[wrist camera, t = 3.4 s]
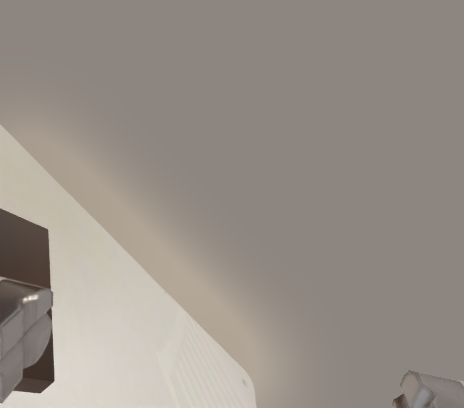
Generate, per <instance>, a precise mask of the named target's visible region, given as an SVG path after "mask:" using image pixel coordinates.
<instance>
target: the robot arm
mask: <svg viewBox="0 0 464 408" xmlns="http://www.w3.org/2000/svg"><path fill="white" fill-rule="evenodd" d="M52 306H53V292H52V291H51V290H50V289H49V288H45V287H41V286H37V285H33V284H29V283H25V282H21V281H17V280H13V279H7V278H4V277H0V403H3V402H4V400H5V399H6V398H7V397H8V396H9V394H10V393H11V392H12V391H13V390H14V388H15V387H16V386H17V385H18V384H19V383H20V381H21V380H22V379H23V369H24V368H27V367H29V366H31V365H33V364H35V363H36V362H37V361H38V359H39V358H40V357H41V356H42V354H43V353H44V351H45V349H46V347H47V345H48V342H49V339H50V335H51V331H52V321H51V319H50V318H49V316H48V314H47V313H46V312H47V311H48V310H49V309H50V308H51V307H52ZM400 385H401V388H402V390H403V393H404V394H402V395H401V396H399V397H398V398H396V399H394V400H393V403H392V405H391V408H464V381H459V380H450V379H446V378H441V377H437V376H432V375H428V374H423V373H418V372H414V371H408V372H407V373H406V374H405V375H404V377H403V379H402V381H401V384H400Z"/></svg>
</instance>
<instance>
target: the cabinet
mask: <svg viewBox="0 0 464 408" xmlns="http://www.w3.org/2000/svg"><path fill="white" fill-rule="evenodd" d="M0 277H4V278H7V279H13V280H17V281H21V282H25V283H29V284H33V285H37V286H41V287H45V288H49V289H50V290H51V286H50V262H49V238H48V229H46V228H43V227H41V226H39V225H36V224H34V223H32V222H30V221H27V220H25V219H23V218H21V217H18V216H16V215H14V214H11V213H9V212H7V211H5V210H2V209H0ZM46 313H47V314H48V316H49V318H50V319H51V321H52V310H51V308H50V309H49V310H48V311H47V312H46ZM53 382H54V358H53V334H52V331H51V335H50V339H49V342H48V345H47V347H46V349H45V351H44V353H43V354H42V356H41V357H40V358H39V359H38V361H37V362H36V363H35V364H33V365H31V366H29V367H27V368H24V369H23V379H22V380H21V381H20V383H19V384H18V385H17V386H16V387H15V388H14V390H13V391H23V392H32V393H41V392H42V391H44V390H45V389H46V388H47V387H48V386H50V385H51V384H52V383H53Z"/></svg>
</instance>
